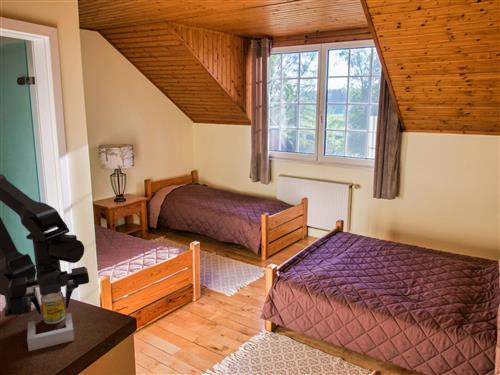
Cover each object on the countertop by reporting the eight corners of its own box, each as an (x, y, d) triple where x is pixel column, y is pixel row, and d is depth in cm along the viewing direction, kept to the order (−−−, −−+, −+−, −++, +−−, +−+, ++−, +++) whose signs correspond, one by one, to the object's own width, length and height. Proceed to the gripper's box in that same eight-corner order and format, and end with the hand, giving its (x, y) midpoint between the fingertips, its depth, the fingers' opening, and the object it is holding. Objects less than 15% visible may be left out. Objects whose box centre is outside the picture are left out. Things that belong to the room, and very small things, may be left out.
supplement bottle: (63, 311, 116) (60, 280, 114) (67, 320, 112) (63, 287, 110) (42, 317, 113) (38, 285, 111) (45, 326, 109) (41, 293, 107)
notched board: (29, 332, 106) (28, 322, 106) (72, 323, 111) (70, 312, 110) (28, 351, 99) (27, 339, 98) (74, 340, 103) (73, 329, 102)
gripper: (3, 275, 97) (12, 335, 101) (88, 260, 105) (94, 316, 109) (6, 258, 107) (14, 313, 111) (84, 246, 115) (89, 297, 119)
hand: (53, 310), depth 112 cm, fingers open, 6 cm apart
